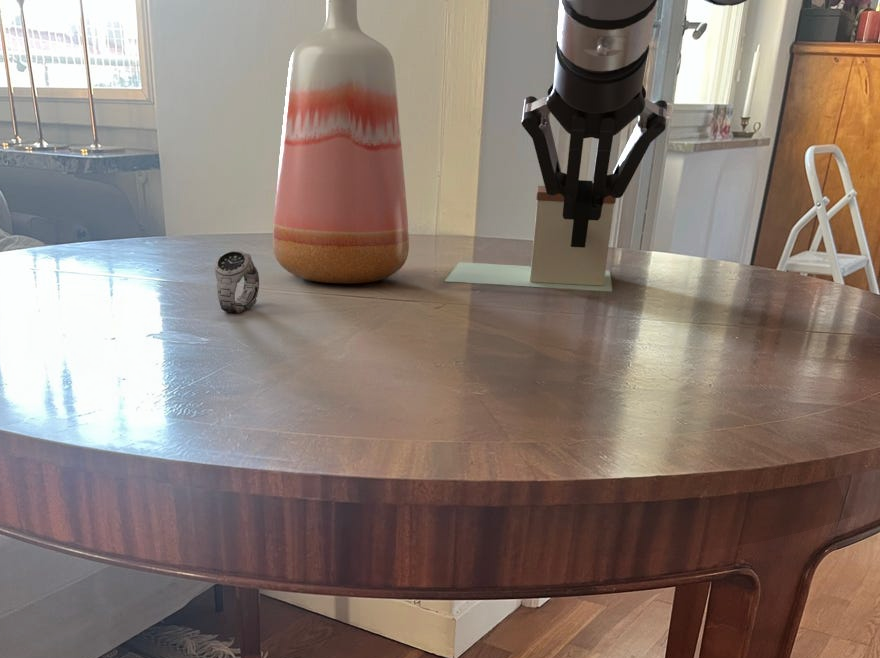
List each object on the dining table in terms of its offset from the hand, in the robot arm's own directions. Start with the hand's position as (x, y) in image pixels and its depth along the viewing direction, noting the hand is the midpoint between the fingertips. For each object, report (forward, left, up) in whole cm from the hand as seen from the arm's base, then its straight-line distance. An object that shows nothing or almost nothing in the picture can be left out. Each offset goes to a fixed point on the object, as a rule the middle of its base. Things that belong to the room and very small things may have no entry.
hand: (578, 236), depth 100 cm
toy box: (+1, -5, -5) cm, 7 cm away
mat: (+5, -6, -5) cm, 9 cm away
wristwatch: (+30, +22, -5) cm, 38 cm away
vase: (+25, +3, -5) cm, 26 cm away
